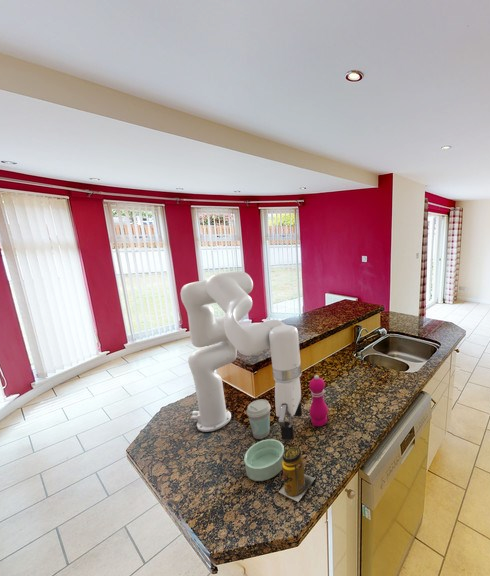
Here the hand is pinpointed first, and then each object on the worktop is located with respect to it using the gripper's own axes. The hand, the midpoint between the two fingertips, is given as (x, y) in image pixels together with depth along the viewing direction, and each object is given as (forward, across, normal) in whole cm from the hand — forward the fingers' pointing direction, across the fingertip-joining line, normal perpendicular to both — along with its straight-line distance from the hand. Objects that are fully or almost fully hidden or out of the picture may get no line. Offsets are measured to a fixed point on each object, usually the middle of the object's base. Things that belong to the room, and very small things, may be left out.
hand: (292, 426), depth 80 cm
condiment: (+20, 0, 0) cm, 20 cm away
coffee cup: (+20, -22, -19) cm, 35 cm away
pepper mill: (+20, -29, +2) cm, 35 cm away
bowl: (+20, -7, -12) cm, 24 cm away
